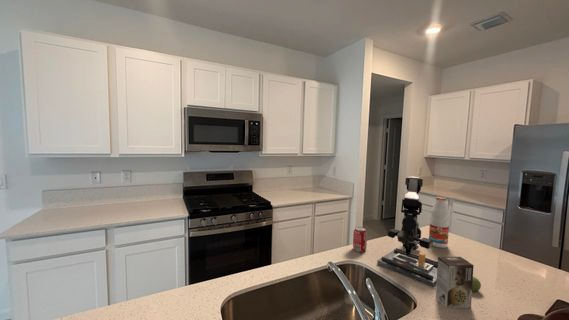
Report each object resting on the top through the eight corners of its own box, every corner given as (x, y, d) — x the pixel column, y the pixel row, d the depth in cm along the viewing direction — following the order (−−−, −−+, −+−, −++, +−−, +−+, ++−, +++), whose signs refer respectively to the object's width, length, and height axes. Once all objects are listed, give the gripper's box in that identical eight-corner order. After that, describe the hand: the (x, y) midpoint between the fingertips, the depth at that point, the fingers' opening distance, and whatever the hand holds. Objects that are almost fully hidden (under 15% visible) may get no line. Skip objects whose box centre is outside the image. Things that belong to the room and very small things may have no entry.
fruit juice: (447, 244, 140) (450, 197, 138) (447, 249, 132) (450, 200, 131) (429, 240, 145) (431, 195, 144) (427, 245, 138) (430, 197, 136)
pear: (471, 279, 93) (450, 270, 103) (473, 294, 92) (451, 283, 102) (483, 278, 94) (461, 269, 104) (485, 292, 93) (462, 282, 103)
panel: (395, 252, 128) (396, 246, 128) (448, 271, 110) (448, 264, 109) (377, 264, 115) (377, 257, 114) (433, 287, 97) (433, 279, 96)
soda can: (364, 247, 133) (365, 226, 132) (367, 253, 126) (368, 231, 125) (351, 246, 134) (352, 226, 133) (354, 252, 127) (355, 230, 126)
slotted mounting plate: (381, 259, 115) (381, 257, 115) (396, 250, 126) (397, 247, 126) (432, 280, 98) (432, 276, 98) (444, 266, 109) (445, 263, 109)
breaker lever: (418, 263, 111) (418, 251, 111) (427, 267, 108) (428, 254, 108) (415, 265, 109) (416, 253, 109) (424, 269, 106) (425, 256, 106)
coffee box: (457, 297, 91) (460, 256, 90) (471, 308, 84) (475, 265, 83) (434, 297, 90) (437, 256, 89) (446, 308, 84) (449, 264, 83)
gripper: (382, 221, 114) (381, 253, 115) (425, 233, 100) (423, 269, 101) (393, 217, 121) (391, 247, 122) (434, 227, 107) (432, 261, 108)
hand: (408, 255), depth 113 cm, fingers closed
